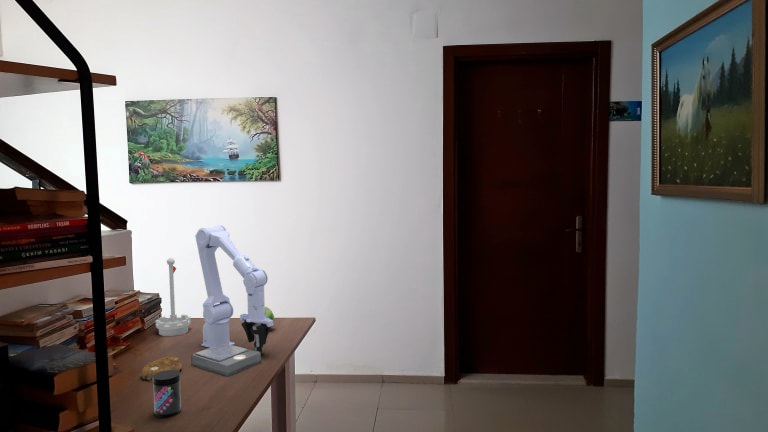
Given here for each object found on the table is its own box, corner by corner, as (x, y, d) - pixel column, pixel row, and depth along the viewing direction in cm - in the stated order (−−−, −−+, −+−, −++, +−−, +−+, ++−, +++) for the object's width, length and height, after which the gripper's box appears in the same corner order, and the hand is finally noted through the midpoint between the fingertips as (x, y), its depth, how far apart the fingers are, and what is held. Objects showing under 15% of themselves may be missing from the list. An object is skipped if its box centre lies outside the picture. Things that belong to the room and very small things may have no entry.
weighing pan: (195, 355, 175) (195, 353, 175) (224, 345, 185) (224, 343, 185) (219, 362, 168) (219, 360, 168) (248, 351, 178) (248, 349, 178)
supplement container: (150, 411, 141) (148, 374, 140) (176, 404, 146) (174, 367, 145) (159, 420, 136) (157, 381, 135) (185, 412, 141) (183, 375, 140)
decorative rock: (150, 367, 175) (138, 386, 161) (148, 355, 175) (136, 374, 160) (186, 362, 177) (177, 381, 163) (184, 351, 177) (176, 369, 162)
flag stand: (183, 337, 205) (180, 260, 202) (150, 337, 205) (146, 260, 202) (196, 326, 218) (193, 255, 215) (164, 327, 218) (161, 255, 215)
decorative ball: (250, 327, 216) (250, 303, 215) (275, 326, 217) (275, 303, 216) (247, 335, 206) (246, 310, 206) (273, 334, 208) (272, 309, 207)
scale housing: (191, 365, 175) (190, 353, 175) (225, 352, 187) (224, 342, 186) (227, 376, 165) (227, 364, 165) (260, 362, 177) (260, 351, 176)
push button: (264, 356, 182) (264, 328, 181) (249, 357, 181) (248, 329, 180) (267, 349, 188) (266, 322, 187) (252, 350, 188) (251, 323, 187)
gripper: (232, 304, 184) (234, 342, 185) (262, 310, 176) (263, 350, 177) (248, 300, 190) (249, 337, 191) (277, 306, 182) (278, 344, 183)
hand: (257, 343), depth 184 cm, fingers closed on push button, 5 cm apart
